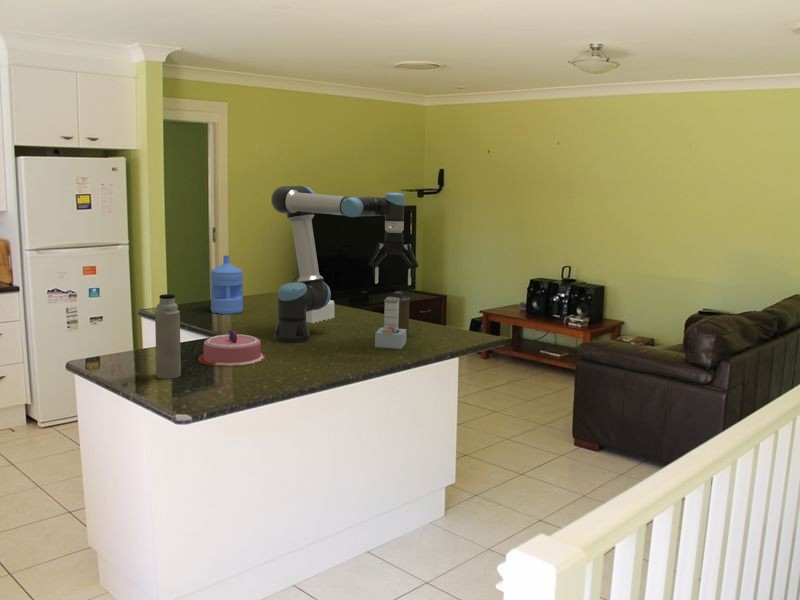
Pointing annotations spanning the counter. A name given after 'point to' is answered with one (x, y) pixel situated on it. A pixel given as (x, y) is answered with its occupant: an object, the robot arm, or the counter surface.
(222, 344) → the cake
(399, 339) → the stand base
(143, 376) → the counter surface
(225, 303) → the water jug
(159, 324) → the thermos bottle
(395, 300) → the column
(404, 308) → the canister
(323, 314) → the white box
